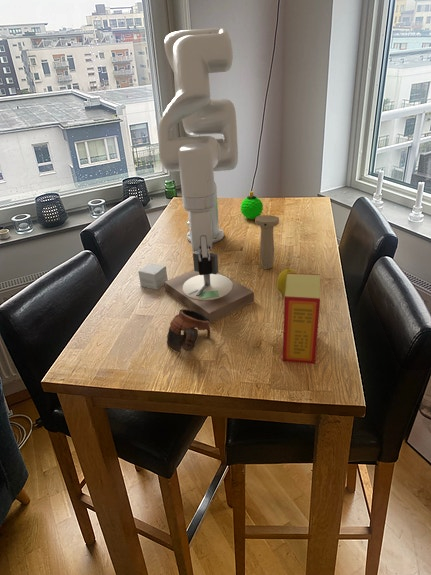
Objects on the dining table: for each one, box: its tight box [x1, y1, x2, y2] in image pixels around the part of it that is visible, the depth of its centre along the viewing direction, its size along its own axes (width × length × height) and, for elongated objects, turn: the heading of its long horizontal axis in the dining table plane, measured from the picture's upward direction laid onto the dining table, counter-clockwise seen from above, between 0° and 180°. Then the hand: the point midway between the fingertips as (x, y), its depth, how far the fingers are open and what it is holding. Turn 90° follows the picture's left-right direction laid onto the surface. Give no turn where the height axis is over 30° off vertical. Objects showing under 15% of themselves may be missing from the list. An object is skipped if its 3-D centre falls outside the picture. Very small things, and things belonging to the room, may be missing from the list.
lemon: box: [276, 268, 297, 296], centre depth 106 cm, size 6×6×8 cm
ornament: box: [240, 190, 264, 220], centre depth 152 cm, size 8×8×10 cm
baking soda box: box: [282, 272, 321, 364], centre depth 87 cm, size 10×6×16 cm
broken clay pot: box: [166, 308, 211, 354], centre depth 93 cm, size 12×10×8 cm
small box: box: [137, 262, 169, 291], centre depth 117 cm, size 6×6×5 cm
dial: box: [183, 274, 233, 300], centre depth 109 cm, size 13×13×1 cm
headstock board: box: [164, 269, 255, 325], centre depth 110 cm, size 20×14×3 cm
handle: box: [254, 214, 280, 270], centre depth 118 cm, size 5×6×15 cm
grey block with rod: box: [192, 251, 220, 296], centre depth 104 cm, size 6×7×9 cm
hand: (204, 269), depth 107 cm, fingers open, 3 cm apart
